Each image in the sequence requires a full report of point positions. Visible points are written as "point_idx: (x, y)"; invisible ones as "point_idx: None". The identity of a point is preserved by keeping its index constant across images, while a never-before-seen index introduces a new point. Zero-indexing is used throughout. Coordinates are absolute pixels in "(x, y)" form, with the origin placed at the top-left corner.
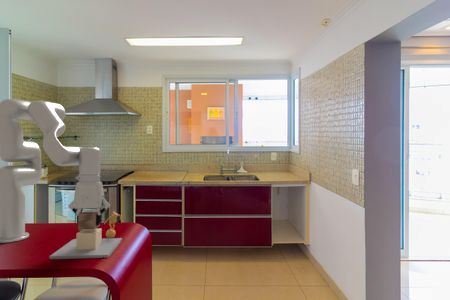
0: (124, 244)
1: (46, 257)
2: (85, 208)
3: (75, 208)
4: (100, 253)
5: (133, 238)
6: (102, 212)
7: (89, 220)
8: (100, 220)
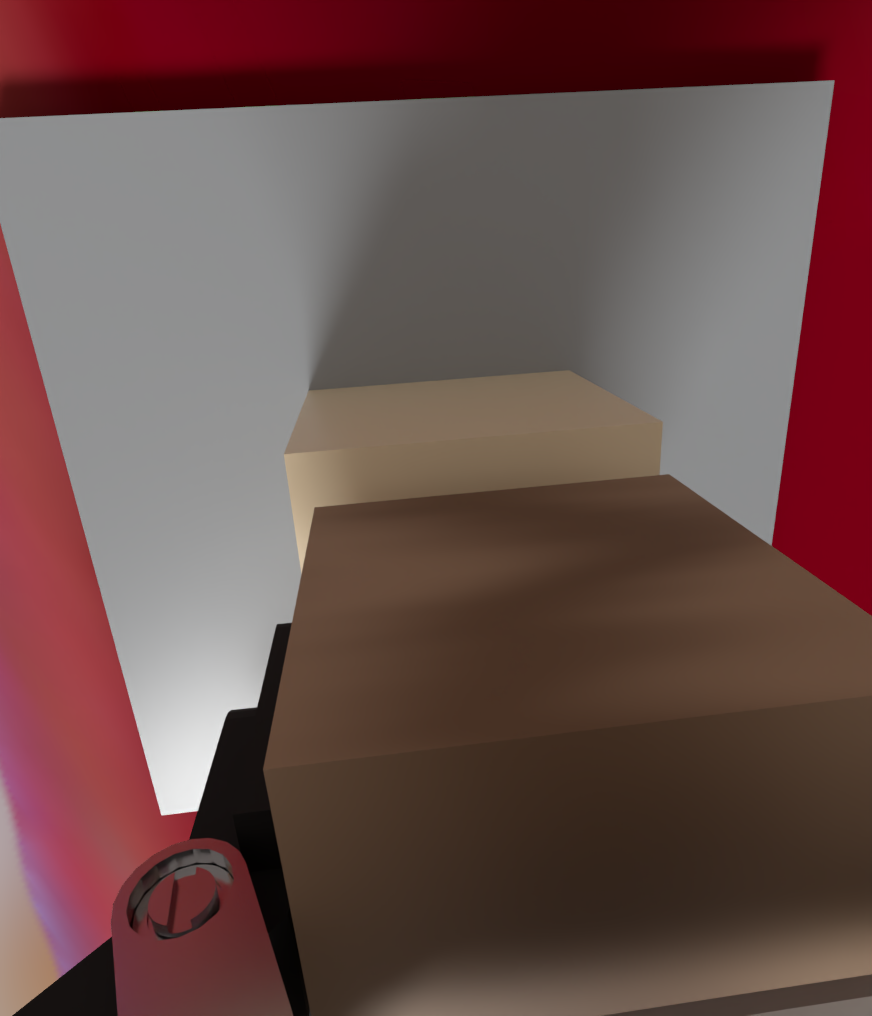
0: (60, 665)
1: (865, 168)
2: (851, 988)
3: None
4: (134, 189)
5: (64, 864)
6: (58, 993)
7: (460, 592)
8: (220, 752)
